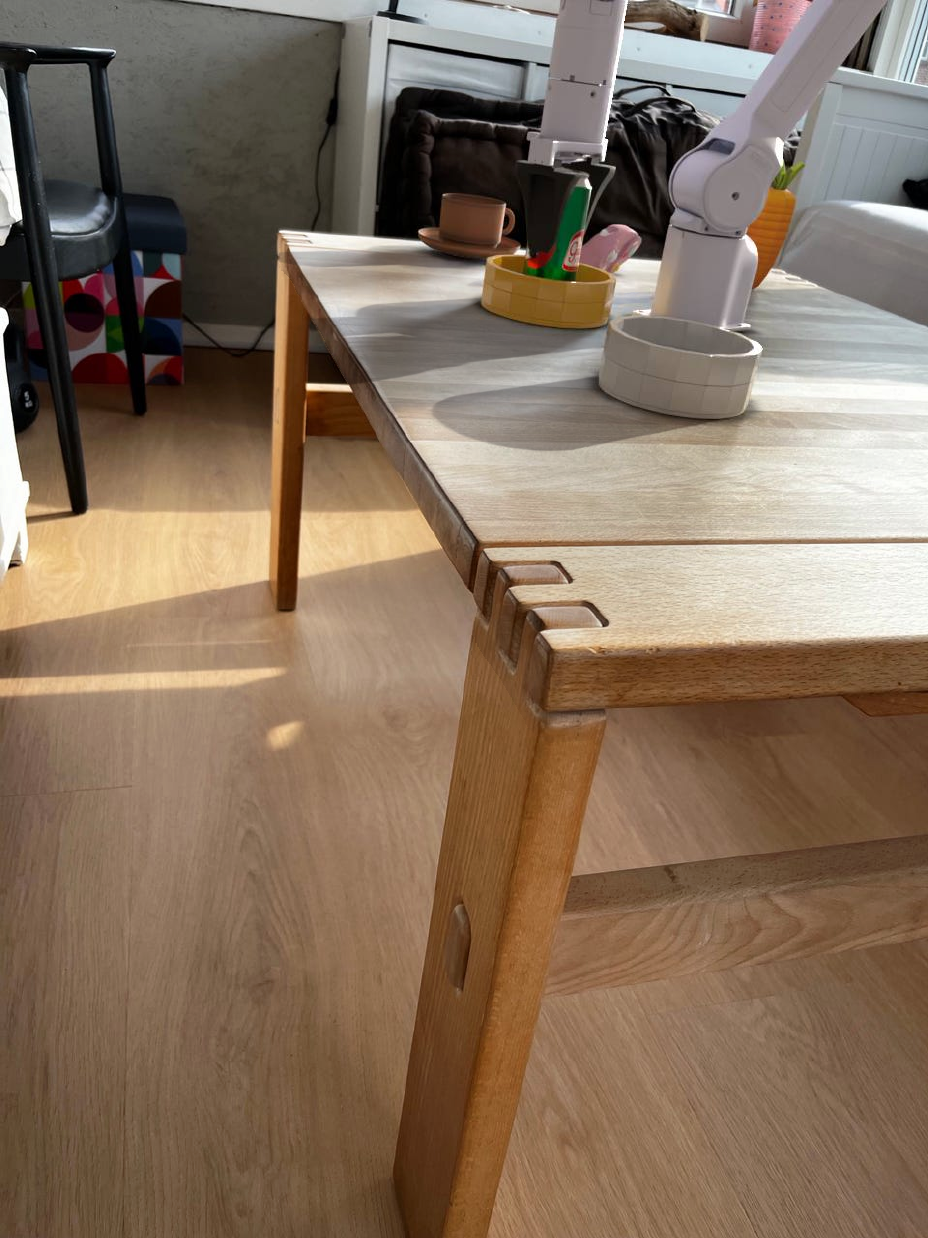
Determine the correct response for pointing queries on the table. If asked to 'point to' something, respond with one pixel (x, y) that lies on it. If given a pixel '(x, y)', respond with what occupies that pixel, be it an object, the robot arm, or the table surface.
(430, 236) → the cup and saucer
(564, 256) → the soda can
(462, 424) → the table surface
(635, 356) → the pot
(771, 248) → the carrot
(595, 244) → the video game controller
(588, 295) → the bowl
